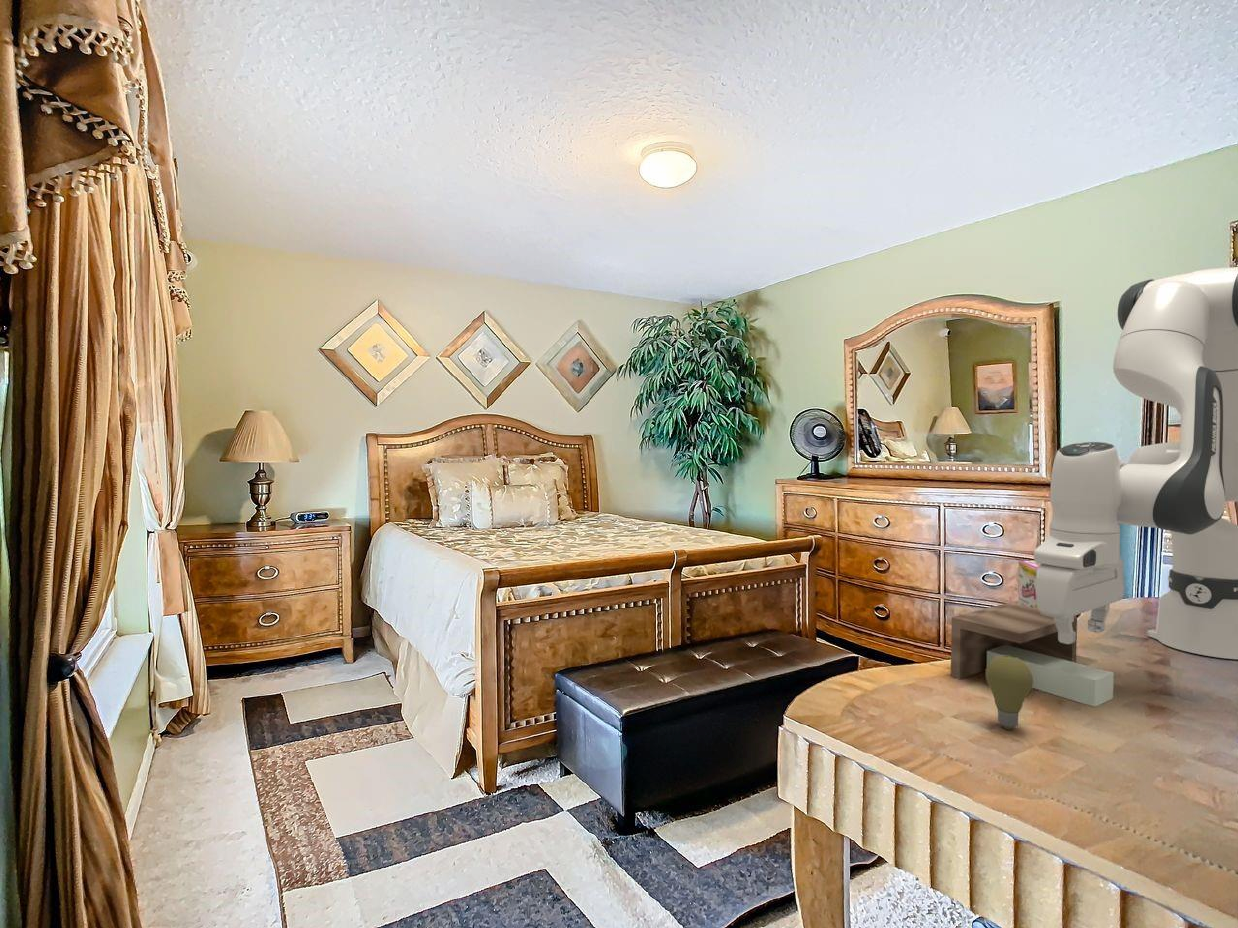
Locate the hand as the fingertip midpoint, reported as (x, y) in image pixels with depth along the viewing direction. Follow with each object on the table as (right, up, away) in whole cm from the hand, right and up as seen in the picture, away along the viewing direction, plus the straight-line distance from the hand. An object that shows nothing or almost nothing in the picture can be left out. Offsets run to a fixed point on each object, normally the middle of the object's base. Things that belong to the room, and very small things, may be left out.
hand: (1081, 636), depth 101 cm
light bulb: (-18, -10, -11) cm, 23 cm away
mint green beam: (-3, -9, +4) cm, 10 cm away
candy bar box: (+6, -9, +19) cm, 22 cm away
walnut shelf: (-6, -9, +8) cm, 13 cm away
